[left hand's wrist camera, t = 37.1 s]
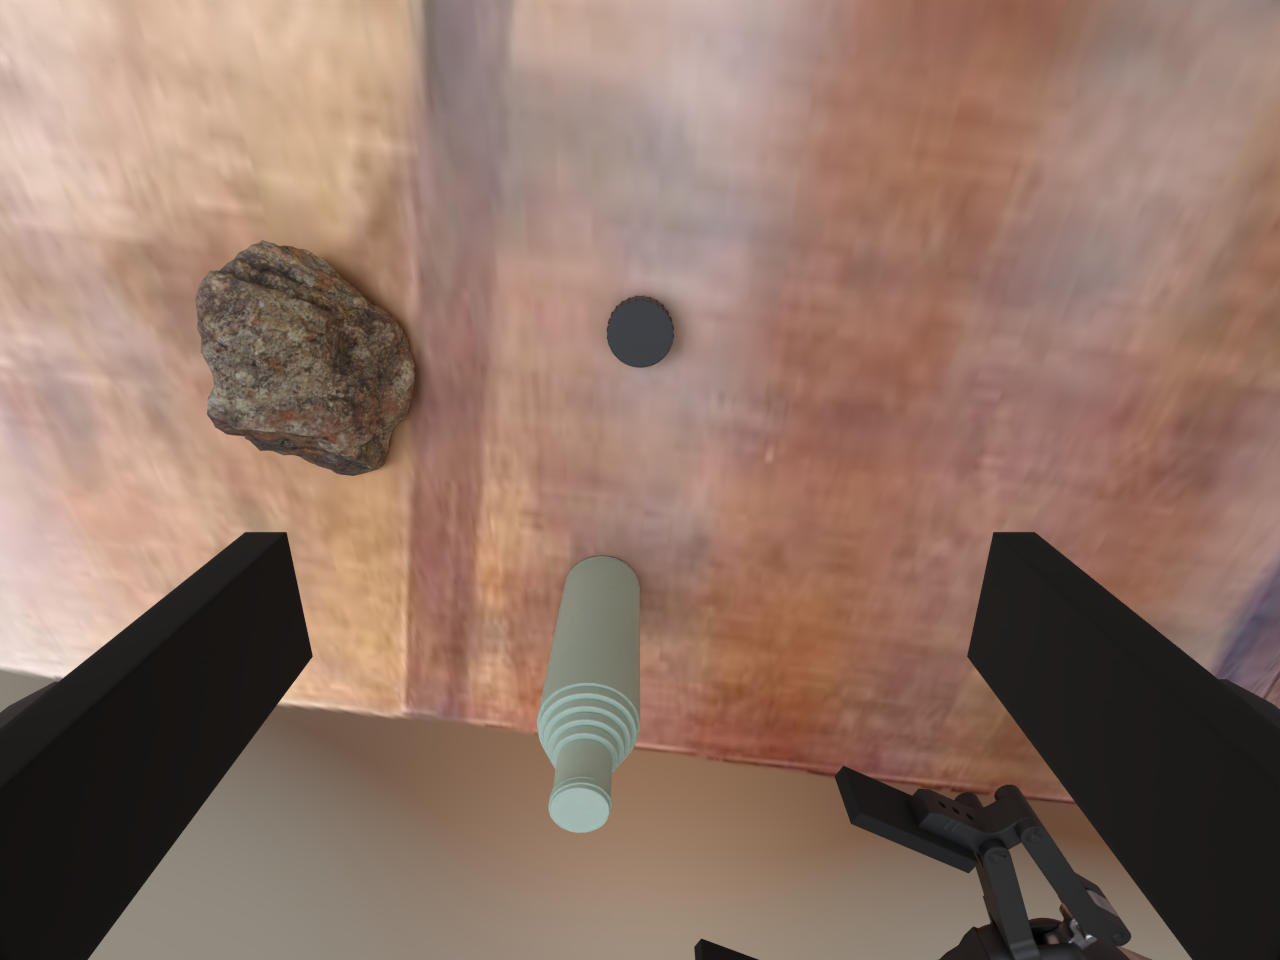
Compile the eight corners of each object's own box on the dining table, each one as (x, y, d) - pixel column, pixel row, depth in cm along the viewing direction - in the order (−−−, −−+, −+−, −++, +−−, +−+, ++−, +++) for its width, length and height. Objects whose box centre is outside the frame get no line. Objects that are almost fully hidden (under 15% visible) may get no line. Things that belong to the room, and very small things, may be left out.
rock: (260, 439, 47) (403, 480, 48) (180, 496, 39) (353, 543, 40) (274, 227, 41) (438, 278, 42) (183, 244, 33) (387, 307, 34)
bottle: (590, 542, 49) (560, 745, 30) (654, 580, 50) (663, 799, 31) (550, 597, 50) (497, 822, 32) (612, 633, 52) (597, 871, 33)
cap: (609, 361, 44) (607, 369, 42) (606, 296, 42) (604, 300, 40) (672, 359, 44) (674, 367, 42) (672, 294, 42) (674, 298, 40)
